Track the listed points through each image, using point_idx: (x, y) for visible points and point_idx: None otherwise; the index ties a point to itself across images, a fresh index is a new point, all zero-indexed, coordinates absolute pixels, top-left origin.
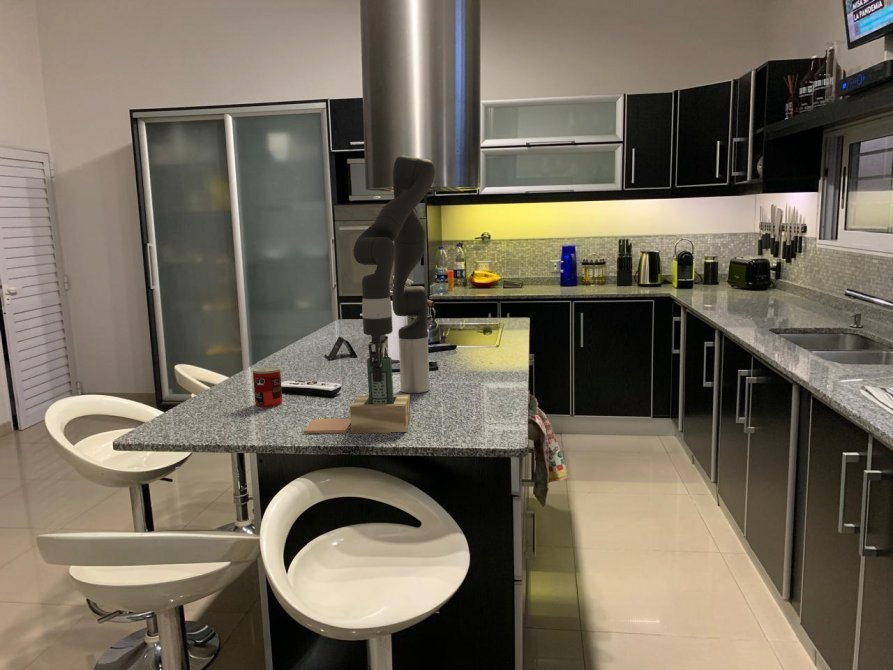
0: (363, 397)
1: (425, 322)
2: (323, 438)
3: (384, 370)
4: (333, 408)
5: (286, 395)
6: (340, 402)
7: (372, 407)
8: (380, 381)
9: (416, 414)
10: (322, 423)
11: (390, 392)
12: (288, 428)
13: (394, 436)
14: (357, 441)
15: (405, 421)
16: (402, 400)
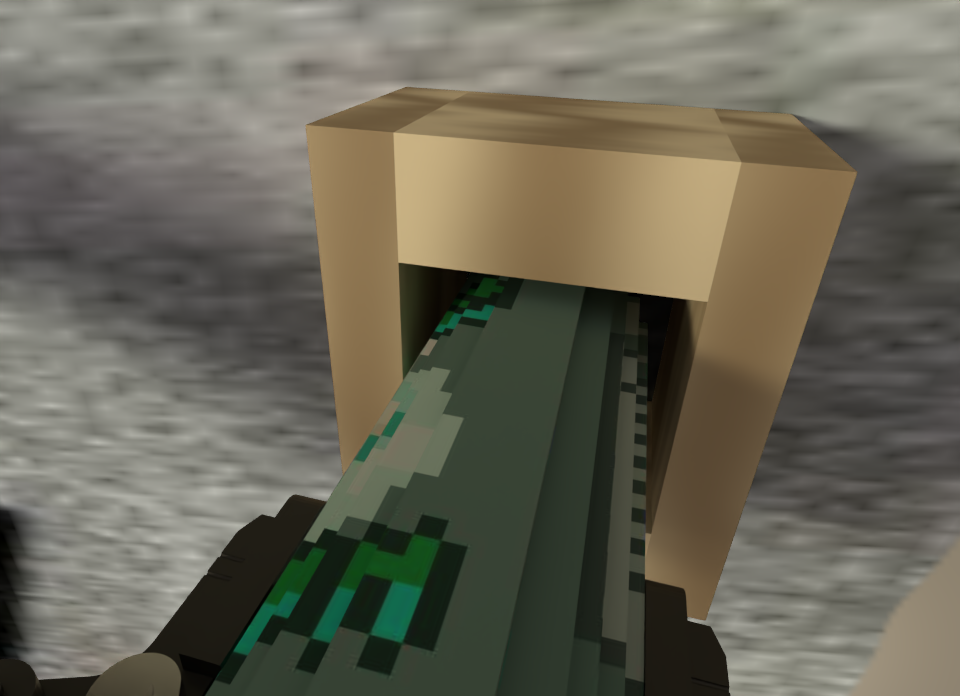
0: None
1: None
2: (750, 596)
3: (620, 687)
4: (187, 522)
5: (40, 650)
6: (79, 490)
7: (751, 476)
8: (679, 595)
9: (249, 41)
10: None
11: (568, 371)
12: None
13: (872, 209)
14: (898, 450)
15: (811, 133)
16: (567, 203)
